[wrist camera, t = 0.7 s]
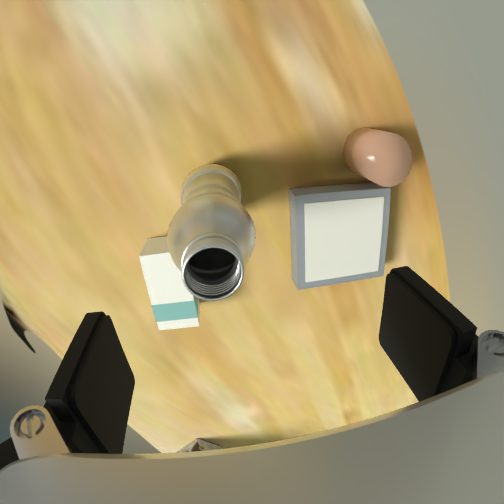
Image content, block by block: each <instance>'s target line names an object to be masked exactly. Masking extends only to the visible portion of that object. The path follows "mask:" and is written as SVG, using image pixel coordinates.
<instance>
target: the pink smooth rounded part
mask: <svg viewBox="0 0 504 504" xmlns="http://www.w3.org/2000/svg"><path fill="white" fill-rule="evenodd" d="M344 158H345V161H346V163H347V165H348V167H349V168H350V169H351V170H352V171H353V172H355V173H357V174H359V175H361V176H363V177H365V178H367V179H369V180H370V181H372V182H374V183H376V184H378V185H380V186H383V187H393V186H396V185H398V184H400V183H401V182H402V181H403V180H404V179H405V178H406V177H407V175H408V174H409V172H410V169H411V166H412V152H411V149H410V146H409V144H408V143H407V141H406V140H405V139H404V138H403V137H402V136H400V135H398V134H396V133H391V132H387V131H382V130H377V129H371V128H360V129H357V130H355V131H354V132H352V133H351V134H350V135H349V137H348V138H347V140H346V142H345V145H344Z"/></svg>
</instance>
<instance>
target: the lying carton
mask: <svg viewBox="0 0 504 504" xmlns="http://www.w3.org/2000/svg"><path fill="white" fill-rule="evenodd" d="M139 258H140V262H141V266H142V270H143V274H144V278H145V281H146V285H147V289H148V293H149V296H150V300H151V304H152V309H153V312H154V316H155V319H156V322H157V324H158V328H159V330H166V329H176V328H186V327H195V326H199V314H200V302H199V298H197V297H195V296H193V295H192V294H191V293H190V292H189V291H188V290H187V289H186V287H185V285H184V283H183V280H182V274H181V271H180V270H179V269H178V268H177V266H176V265H175V263H174V262H173V260H172V258H171V255H170V253H169V250H168V245H167V236H164V237H156V238H149V239H147V240H146V242H145V244H144V246H143V249H142V251H141V253H140V256H139Z"/></svg>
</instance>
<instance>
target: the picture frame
mask: <svg viewBox="0 0 504 504" xmlns="http://www.w3.org/2000/svg"><path fill="white" fill-rule="evenodd" d="M390 196H391V188H390V187H383V186H380V185H378V184H376V183H374V182H373V183H357V184H342V185H329V186H317V187H305V188H294V189H289V202H290V226H291V255H292V279H293V281H294V283H295V285H296V287H297V290H300V289H307V288H313V287H320V286H326V285H332V284H338V283H344V282H350V281H356V280H362V279H368V278H374V277H379V276H383V274H384V266H385V257H386V248H387V237H388V226H389V212H390Z"/></svg>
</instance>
